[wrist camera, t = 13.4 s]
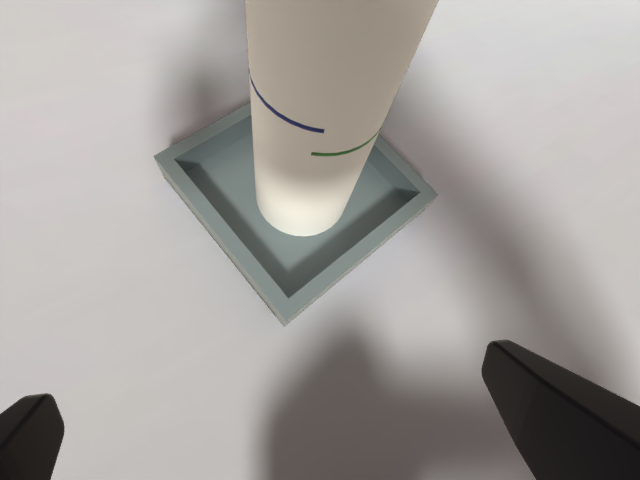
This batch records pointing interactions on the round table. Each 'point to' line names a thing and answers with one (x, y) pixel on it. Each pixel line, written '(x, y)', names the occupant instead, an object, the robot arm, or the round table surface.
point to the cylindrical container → (322, 98)
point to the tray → (268, 242)
